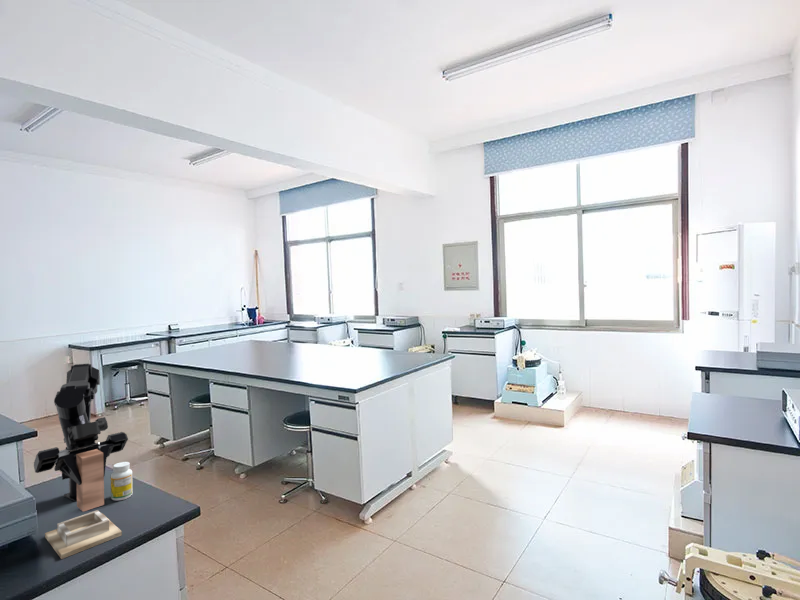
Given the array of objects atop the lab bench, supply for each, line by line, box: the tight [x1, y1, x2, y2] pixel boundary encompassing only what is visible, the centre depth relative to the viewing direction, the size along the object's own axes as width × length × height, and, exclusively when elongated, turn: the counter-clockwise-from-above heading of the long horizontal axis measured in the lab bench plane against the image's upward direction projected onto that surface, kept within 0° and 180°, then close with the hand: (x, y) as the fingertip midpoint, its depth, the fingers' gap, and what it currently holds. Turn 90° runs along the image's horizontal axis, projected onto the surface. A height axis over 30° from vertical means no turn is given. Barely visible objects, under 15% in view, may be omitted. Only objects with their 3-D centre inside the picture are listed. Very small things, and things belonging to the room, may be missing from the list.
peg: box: [76, 449, 105, 513], centre depth 106 cm, size 4×4×13 cm
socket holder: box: [44, 509, 123, 560], centre depth 105 cm, size 14×12×4 cm
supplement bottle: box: [110, 461, 134, 502], centre depth 125 cm, size 5×5×10 cm
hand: (92, 480), depth 105 cm, fingers closed on peg, 4 cm apart
